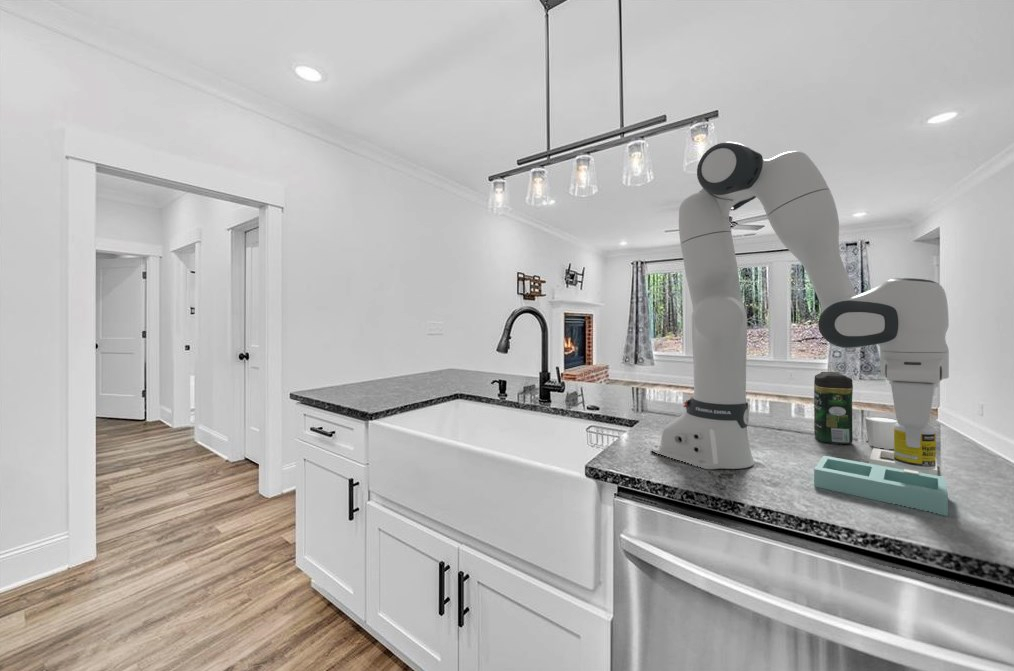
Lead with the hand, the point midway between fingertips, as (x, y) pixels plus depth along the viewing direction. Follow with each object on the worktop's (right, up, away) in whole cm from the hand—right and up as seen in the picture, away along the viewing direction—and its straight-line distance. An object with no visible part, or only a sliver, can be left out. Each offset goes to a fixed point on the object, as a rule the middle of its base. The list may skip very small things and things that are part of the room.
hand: (913, 442), depth 75 cm
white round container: (+22, -9, +30) cm, 39 cm away
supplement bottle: (0, -5, 0) cm, 5 cm away
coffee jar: (+14, -9, +36) cm, 40 cm away
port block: (-3, -10, +4) cm, 11 cm away
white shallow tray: (+15, -10, +17) cm, 24 cm away
